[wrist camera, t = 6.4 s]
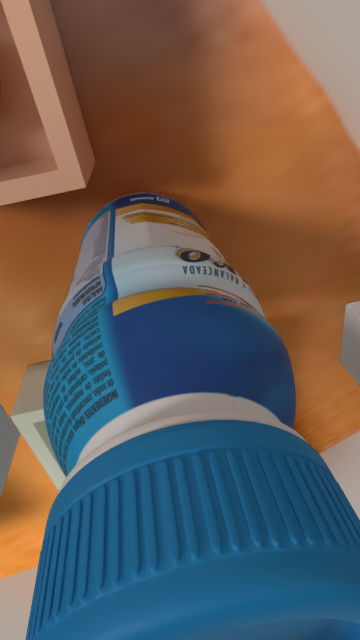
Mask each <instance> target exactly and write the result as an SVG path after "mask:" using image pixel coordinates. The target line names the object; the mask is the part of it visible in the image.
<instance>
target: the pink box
mask: <svg viewBox="0 0 360 640" xmlns="http://www.w3.org/2000/svg"><path fill="white" fill-rule="evenodd" d="M0 80H1V88H2V94H1V101H0V206H1V205H6V204H11V203H15V202H20V201H25V200H29V199H34V198H39V197H44V196H48V195H53V194H58V193H62V192H67V191H72V190H77V189H81V188H86V186H87V184H88V181H89V178H90V176H91V173H92V170H93V168H94V165H95V162H96V161H95V158H94V154H93V151H92V147H91V144H90V140H89V137H88V133H87V129H86V126H85V122H84V119H83V115H82V112H81V108H80V105H79V101H78V97H77V94H76V90H75V87H74V83H73V80H72V76H71V73H70V69H69V65H68V62H67V58H66V55H65V51H64V48H63V44H62V41H61V37H60V33H59V30H58V26H57V23H56V19H55V16H54V12H53V8H52V5H51V1H50V0H0Z"/></svg>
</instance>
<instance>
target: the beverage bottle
mask: <svg viewBox="0 0 360 640" xmlns="http://www.w3.org/2000/svg"><path fill="white" fill-rule="evenodd" d="M295 406H296V395H295V383H294V377H293V372H292V367H291V363H290V359H289V356H288V353H287V350H286V348H285V345H284V343H283V341H282V339H281V338H280V336H279V334H278V333H277V331H276V330H275V329H274V327H273V326H272V325H271V324H270V323H269V321H268V320H267V319H266V318H265V315H264V313H263V310H262V308H261V305H260V303H259V301H258V299H257V298H256V296H255V294H254V293H253V291H252V289H251V288H250V287H249V285H248V284H247V283H246V281H245V280H244V279H243V278H242V277H241V276H240V275H239V274H238V273H237V272H236V271H235V270H233V269H232V268H231V267H230V265H229V264H228V263H227V261H226V260H225V258H224V257H223V256H222V254H221V253H220V252H219V250H218V249H217V247H216V246H215V245H214V243H213V242H212V240H211V239H210V238H209V236H208V235H207V233H206V232H205V230H204V228H203V226H202V225H201V223H200V222H199V220H198V219H197V218H196V216H195V215H194V214H193V213H192V212H191V211H190V210H189V209H188V208H187V207H186V206H184V205H183V204H181V203H180V202H178V201H176V200H174V199H172V198H170V197H167V196H164V195H161V194H156V193H134V194H129V195H125V196H122V197H120V198H117V199H115V200H113V201H111V202H110V203H108V204H107V205H105V206H104V207H103V208H102V209H100V210H99V211H98V212H97V213H96V215H95V216H94V217H93V218H92V220H91V221H90V223H89V224H88V226H87V228H86V230H85V232H84V235H83V238H82V242H81V247H80V254H79V258H78V261H77V265H76V268H75V272H74V276H73V279H72V283H71V286H70V290H69V294H68V296H67V298H66V300H65V302H64V303H63V305H62V308H61V310H60V312H59V315H58V318H57V321H56V325H55V329H54V335H53V342H52V360H51V362H50V365H49V367H48V370H47V373H46V377H45V382H44V389H43V409H44V417H45V424H46V429H47V433H48V437H49V440H50V443H51V446H52V449H53V452H54V454H55V456H56V458H57V461H58V463H59V465H60V467H61V469H62V471H63V472H64V474H65V476H66V479H65V480H64V482H63V484H62V485H61V487H60V489H59V492H58V494H57V497H56V499H55V501H54V503H53V505H52V507H51V510H50V513H49V516H48V520H47V524H46V529H45V534H44V540H43V545H42V551H41V552H40V559H39V565H38V571H37V576H36V583H35V588H34V594H33V600H32V606H31V611H30V617H29V623H28V629H27V635H26V640H360V520H359V518H358V517H357V515H356V513H355V511H354V510H353V508H352V506H351V505H350V503H349V501H348V499H347V498H346V496H345V494H344V492H343V491H342V489H341V487H340V486H339V484H338V483H337V482H336V480H335V478H334V477H333V475H332V473H331V471H330V470H329V468H328V466H327V465H326V463H325V462H324V460H323V459H322V457H321V456H320V455H319V454H318V452H317V451H316V450H315V449H314V448H313V447H312V446H311V445H310V444H308V442H307V441H306V440H305V439H304V438H303V437H302V436H301V435H300V434H299V433H297V432H296V431H295V430H293V429H294V420H295Z"/></svg>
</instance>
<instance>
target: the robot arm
mask: <svg viewBox="0 0 360 640" xmlns="http://www.w3.org/2000/svg"><path fill="white" fill-rule="evenodd" d="M340 363H341V364H342V365H343V366H344V367H345V369H346V370H347V371H348V372H349V373H350V375H351V376H352V377H353V378H354V379H355V381H356V382H357V383H358V384H359V385H360V301H357V302H353V303H348V304H346V308H345V317H344V326H343V335H342V344H341V353H340ZM19 436H20V433H19V431H18V430H17V428H16V427H15V425H14V424H13V422H12V421H11V419H10V418H9V416H8V415H7V413H6V411H5V410H4V408H3V407H2V405H1V404H0V497H1V494H2V491H3V487H4V484H5V481H6V478H7V475H8V471H9V468H10V465H11V462H12V459H13V455H14V452H15V449H16V446H17V443H18V439H19Z"/></svg>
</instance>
